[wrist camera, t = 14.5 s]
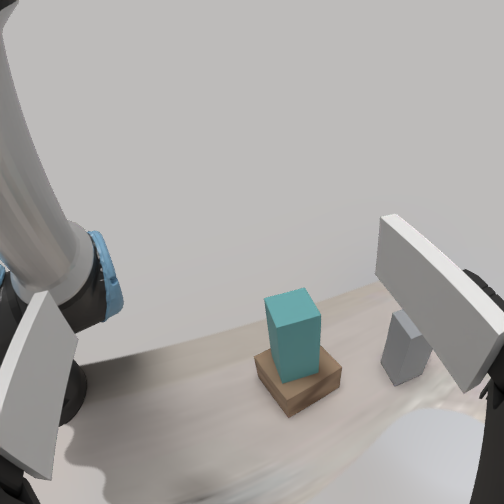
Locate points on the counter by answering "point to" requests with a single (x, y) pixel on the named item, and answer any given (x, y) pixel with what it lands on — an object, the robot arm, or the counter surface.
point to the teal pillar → (294, 334)
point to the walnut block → (298, 382)
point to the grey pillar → (404, 349)
